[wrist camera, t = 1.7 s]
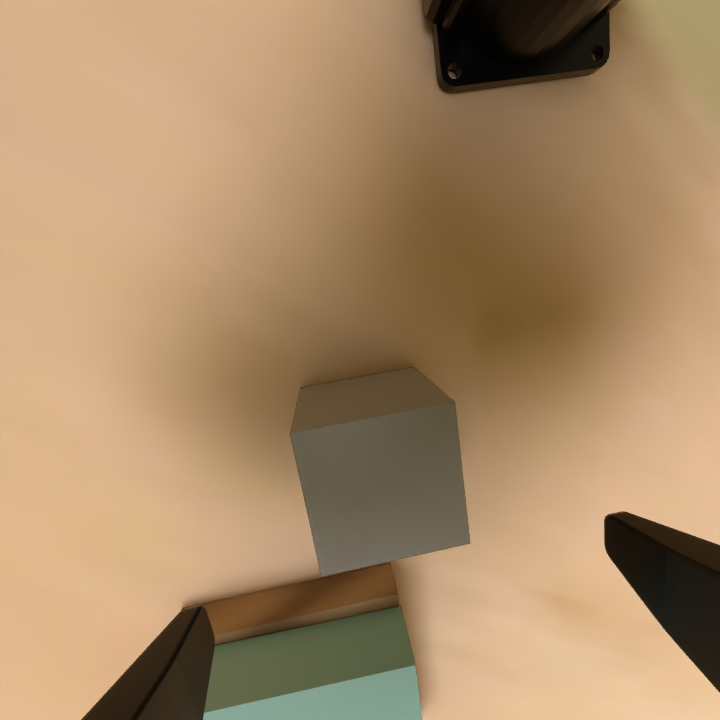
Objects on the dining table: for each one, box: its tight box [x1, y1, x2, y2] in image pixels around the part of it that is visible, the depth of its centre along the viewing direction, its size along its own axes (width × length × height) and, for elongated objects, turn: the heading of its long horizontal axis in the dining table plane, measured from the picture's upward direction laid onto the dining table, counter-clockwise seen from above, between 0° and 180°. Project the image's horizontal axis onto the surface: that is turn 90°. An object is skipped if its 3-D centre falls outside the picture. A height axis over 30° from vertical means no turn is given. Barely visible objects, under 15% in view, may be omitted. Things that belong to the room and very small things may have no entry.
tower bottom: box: [181, 563, 399, 646], centre depth 17 cm, size 10×10×2 cm
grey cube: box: [290, 367, 470, 577], centre depth 13 cm, size 5×5×5 cm
